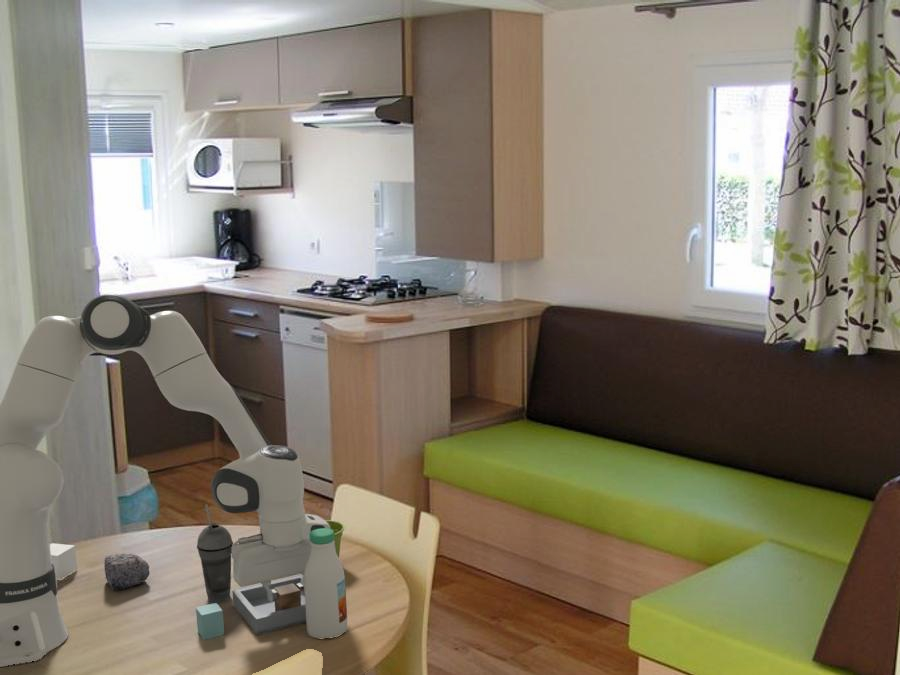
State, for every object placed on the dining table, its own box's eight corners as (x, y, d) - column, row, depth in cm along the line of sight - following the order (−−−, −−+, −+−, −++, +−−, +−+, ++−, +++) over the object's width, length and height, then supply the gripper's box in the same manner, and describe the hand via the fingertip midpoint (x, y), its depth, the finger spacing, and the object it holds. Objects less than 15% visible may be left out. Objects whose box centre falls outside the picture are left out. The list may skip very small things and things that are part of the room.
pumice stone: (149, 584, 237) (103, 575, 236) (156, 551, 236) (110, 542, 235) (139, 603, 227) (91, 593, 226) (147, 569, 226) (99, 559, 225)
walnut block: (282, 619, 210) (280, 595, 209) (275, 611, 214) (273, 587, 213) (301, 614, 212) (300, 590, 211) (294, 606, 216) (293, 583, 215)
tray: (257, 634, 207) (256, 619, 206) (233, 605, 220) (232, 590, 219) (331, 616, 214) (331, 600, 213) (304, 588, 227) (303, 574, 226)
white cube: (60, 582, 235) (57, 555, 234) (37, 579, 236) (34, 553, 235) (77, 571, 240) (75, 545, 239) (54, 568, 242) (52, 543, 241)
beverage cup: (228, 606, 220) (221, 512, 216) (194, 604, 221) (187, 510, 217) (242, 591, 227) (235, 499, 223) (209, 589, 228) (202, 498, 224)
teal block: (203, 640, 205) (201, 615, 204) (197, 631, 209) (195, 607, 208) (224, 634, 207) (222, 610, 206) (218, 626, 211) (216, 602, 210)
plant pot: (355, 561, 240) (353, 524, 239) (328, 577, 232) (326, 538, 231) (322, 554, 245) (319, 517, 244) (294, 568, 237) (292, 531, 236)
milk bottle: (330, 644, 202) (325, 542, 198) (298, 635, 206) (292, 535, 202) (355, 627, 208) (350, 528, 205) (324, 619, 213) (318, 521, 209)
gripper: (235, 545, 202) (240, 614, 205) (337, 524, 212) (341, 590, 214) (225, 534, 208) (230, 602, 210) (325, 514, 217) (329, 579, 220)
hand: (287, 596), depth 212 cm, fingers open, 5 cm apart
